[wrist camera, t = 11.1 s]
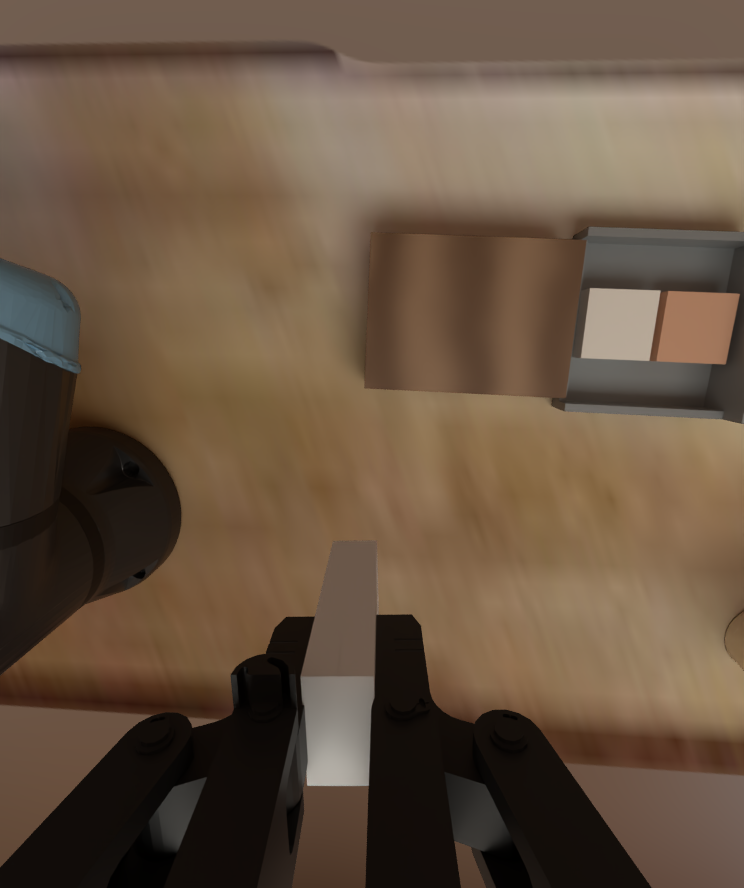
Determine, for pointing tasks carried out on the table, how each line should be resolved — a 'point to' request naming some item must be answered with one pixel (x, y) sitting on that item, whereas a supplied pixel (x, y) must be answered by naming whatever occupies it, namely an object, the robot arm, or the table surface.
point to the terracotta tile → (694, 327)
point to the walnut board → (472, 313)
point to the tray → (666, 269)
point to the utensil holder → (736, 640)
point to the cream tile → (616, 324)
